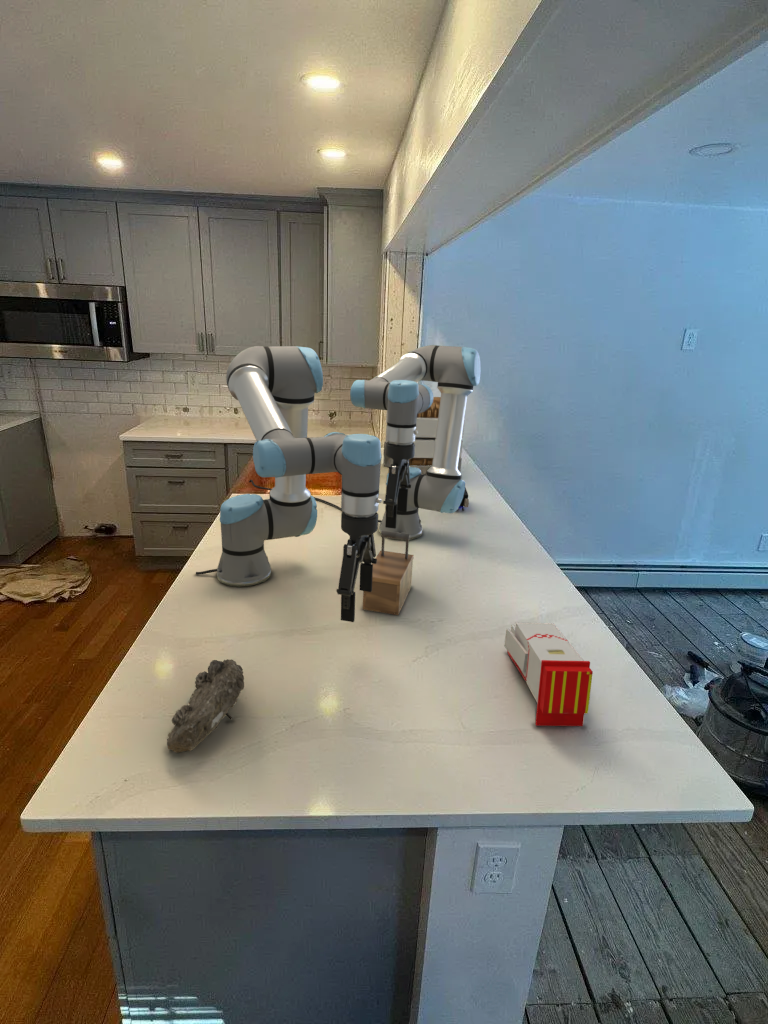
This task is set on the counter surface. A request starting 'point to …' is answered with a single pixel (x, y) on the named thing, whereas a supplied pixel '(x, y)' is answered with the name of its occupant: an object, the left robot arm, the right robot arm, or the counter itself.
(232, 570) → the left robot arm
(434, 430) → the wooden drawer cabinet
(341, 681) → the counter surface
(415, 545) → the counter surface
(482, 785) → the counter surface
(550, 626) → the toy
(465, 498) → the figurine character
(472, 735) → the counter surface
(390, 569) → the lid
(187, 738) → the fossil
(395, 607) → the chest
